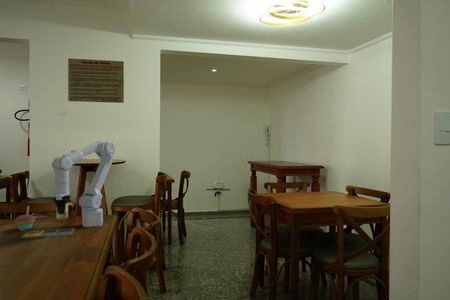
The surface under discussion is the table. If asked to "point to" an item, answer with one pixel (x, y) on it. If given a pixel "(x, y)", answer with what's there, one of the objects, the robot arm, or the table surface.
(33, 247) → the table surface
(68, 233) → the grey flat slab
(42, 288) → the table surface
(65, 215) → the beech block
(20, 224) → the cupcake
